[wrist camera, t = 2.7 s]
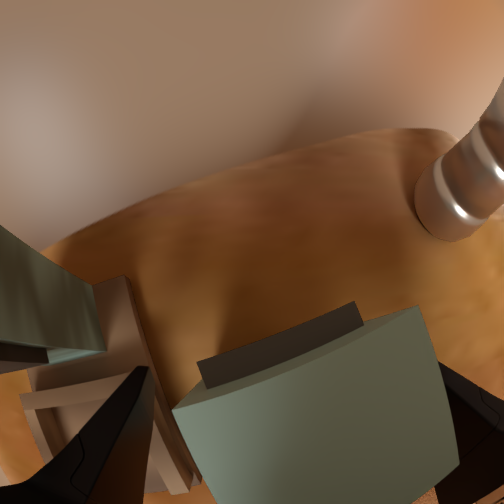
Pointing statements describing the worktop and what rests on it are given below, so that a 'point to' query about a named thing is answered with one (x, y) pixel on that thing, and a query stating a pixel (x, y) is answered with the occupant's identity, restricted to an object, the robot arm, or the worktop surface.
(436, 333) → the worktop surface
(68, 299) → the green block with base
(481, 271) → the worktop surface
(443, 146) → the worktop surface
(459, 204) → the plastic bottle
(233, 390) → the block
